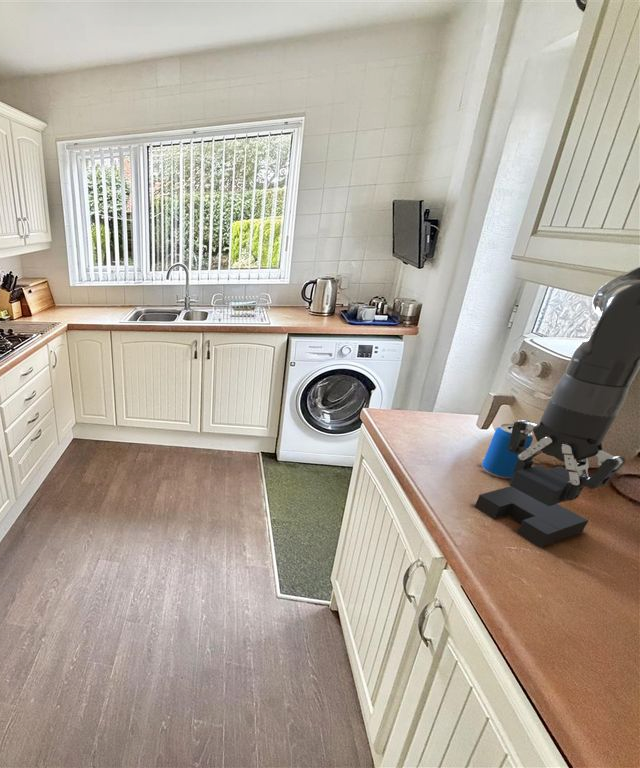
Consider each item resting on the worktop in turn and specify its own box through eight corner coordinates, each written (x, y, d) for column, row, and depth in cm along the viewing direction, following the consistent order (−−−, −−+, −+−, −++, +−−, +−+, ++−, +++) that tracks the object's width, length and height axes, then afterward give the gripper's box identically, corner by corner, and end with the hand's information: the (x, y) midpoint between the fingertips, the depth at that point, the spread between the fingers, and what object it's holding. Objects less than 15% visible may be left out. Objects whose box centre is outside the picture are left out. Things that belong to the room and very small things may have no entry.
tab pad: (543, 475, 76) (550, 461, 75) (584, 495, 71) (592, 480, 70) (509, 485, 74) (515, 471, 72) (548, 506, 68) (556, 491, 67)
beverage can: (509, 468, 99) (528, 425, 94) (520, 483, 94) (540, 439, 89) (477, 462, 102) (493, 420, 97) (485, 476, 96) (503, 433, 92)
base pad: (513, 495, 90) (518, 483, 89) (581, 532, 80) (589, 520, 78) (474, 506, 87) (479, 494, 86) (540, 547, 76) (547, 534, 75)
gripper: (662, 420, 59) (608, 509, 66) (545, 383, 72) (510, 461, 79) (631, 429, 57) (579, 520, 64) (516, 389, 70) (483, 469, 77)
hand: (541, 487), depth 71 cm, fingers closed on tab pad, 6 cm apart
